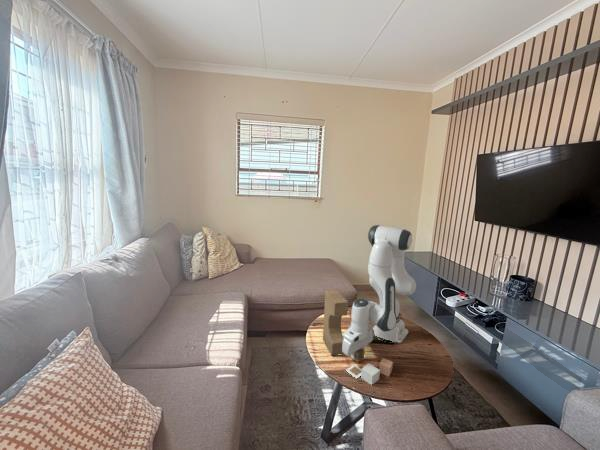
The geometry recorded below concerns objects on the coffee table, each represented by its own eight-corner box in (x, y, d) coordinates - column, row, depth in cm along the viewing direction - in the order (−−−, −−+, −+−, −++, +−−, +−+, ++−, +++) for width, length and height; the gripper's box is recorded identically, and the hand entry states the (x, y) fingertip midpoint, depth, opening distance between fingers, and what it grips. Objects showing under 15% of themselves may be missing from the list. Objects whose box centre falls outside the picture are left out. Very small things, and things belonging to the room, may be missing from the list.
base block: (368, 372, 133) (369, 363, 132) (379, 379, 128) (379, 370, 127) (360, 378, 129) (361, 368, 128) (371, 385, 124) (372, 375, 123)
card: (354, 364, 137) (354, 363, 137) (365, 372, 132) (365, 371, 132) (345, 371, 133) (345, 369, 133) (356, 379, 127) (356, 378, 127)
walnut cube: (356, 353, 144) (356, 345, 143) (363, 358, 140) (364, 349, 139) (350, 357, 141) (350, 348, 140) (357, 362, 137) (358, 353, 136)
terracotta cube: (382, 366, 137) (382, 357, 136) (392, 370, 134) (393, 361, 133) (378, 372, 133) (379, 363, 132) (389, 376, 130) (390, 367, 129)
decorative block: (344, 354, 145) (348, 302, 139) (331, 356, 143) (334, 303, 138) (334, 338, 159) (337, 290, 154) (322, 339, 157) (325, 290, 152)
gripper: (366, 321, 146) (365, 344, 149) (340, 335, 134) (339, 359, 137) (376, 326, 142) (374, 350, 144) (350, 341, 129) (348, 367, 132)
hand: (357, 355), depth 140 cm, fingers closed on walnut cube, 5 cm apart
